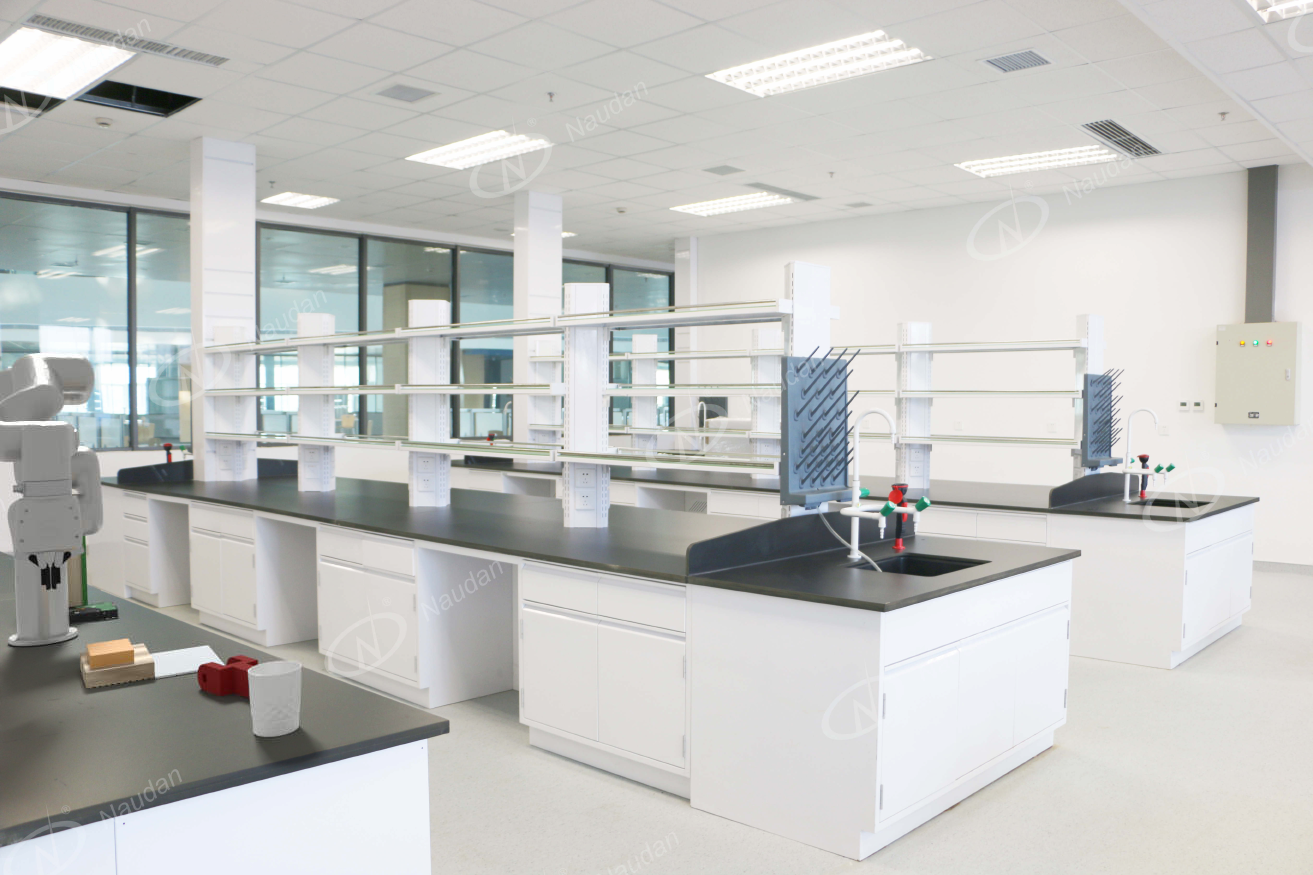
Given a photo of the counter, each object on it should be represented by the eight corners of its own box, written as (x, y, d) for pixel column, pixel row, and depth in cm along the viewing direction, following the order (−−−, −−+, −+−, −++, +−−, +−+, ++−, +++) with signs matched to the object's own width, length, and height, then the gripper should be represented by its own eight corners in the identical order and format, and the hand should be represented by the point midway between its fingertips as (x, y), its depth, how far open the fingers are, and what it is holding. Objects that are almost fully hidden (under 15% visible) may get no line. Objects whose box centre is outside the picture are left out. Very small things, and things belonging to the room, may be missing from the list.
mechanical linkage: (197, 689, 164) (196, 662, 164) (235, 678, 170) (234, 652, 169) (244, 706, 154) (243, 677, 154) (283, 695, 160) (282, 667, 160)
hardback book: (88, 609, 225) (84, 514, 224) (52, 614, 220) (49, 517, 219) (72, 598, 238) (69, 508, 237) (38, 603, 233) (35, 511, 232)
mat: (143, 656, 184) (143, 654, 184) (208, 646, 191) (208, 645, 191) (155, 678, 169) (155, 676, 169) (225, 667, 176) (225, 665, 176)
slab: (86, 655, 174) (86, 644, 174) (128, 649, 179) (128, 638, 178) (90, 667, 166) (90, 655, 166) (134, 661, 170) (133, 649, 170)
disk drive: (45, 629, 208) (119, 619, 217) (44, 618, 208) (118, 607, 217) (42, 621, 216) (114, 611, 225) (42, 609, 216) (113, 600, 225)
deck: (80, 667, 176) (79, 652, 176) (144, 657, 183) (143, 643, 183) (86, 688, 163) (85, 672, 163) (154, 677, 170) (154, 661, 170)
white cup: (313, 723, 145) (312, 662, 145) (278, 741, 138) (276, 677, 138) (274, 718, 148) (273, 658, 148) (237, 735, 141) (236, 672, 140)
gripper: (-3, 494, 158) (1, 597, 159) (96, 488, 167) (100, 586, 168) (-3, 491, 164) (1, 590, 165) (93, 485, 173) (96, 580, 174)
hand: (51, 588), depth 166 cm, fingers closed
